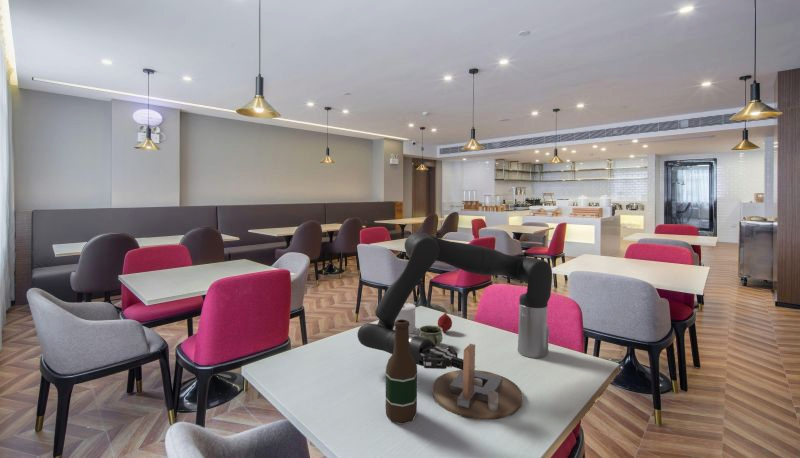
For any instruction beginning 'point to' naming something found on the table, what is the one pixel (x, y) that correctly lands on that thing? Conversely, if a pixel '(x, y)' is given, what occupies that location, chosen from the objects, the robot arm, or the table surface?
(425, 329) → the vessel
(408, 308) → the toilet tissue
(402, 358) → the beer bottle
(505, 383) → the post base
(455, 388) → the handled square nut
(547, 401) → the table surface
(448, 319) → the red oval fruit
